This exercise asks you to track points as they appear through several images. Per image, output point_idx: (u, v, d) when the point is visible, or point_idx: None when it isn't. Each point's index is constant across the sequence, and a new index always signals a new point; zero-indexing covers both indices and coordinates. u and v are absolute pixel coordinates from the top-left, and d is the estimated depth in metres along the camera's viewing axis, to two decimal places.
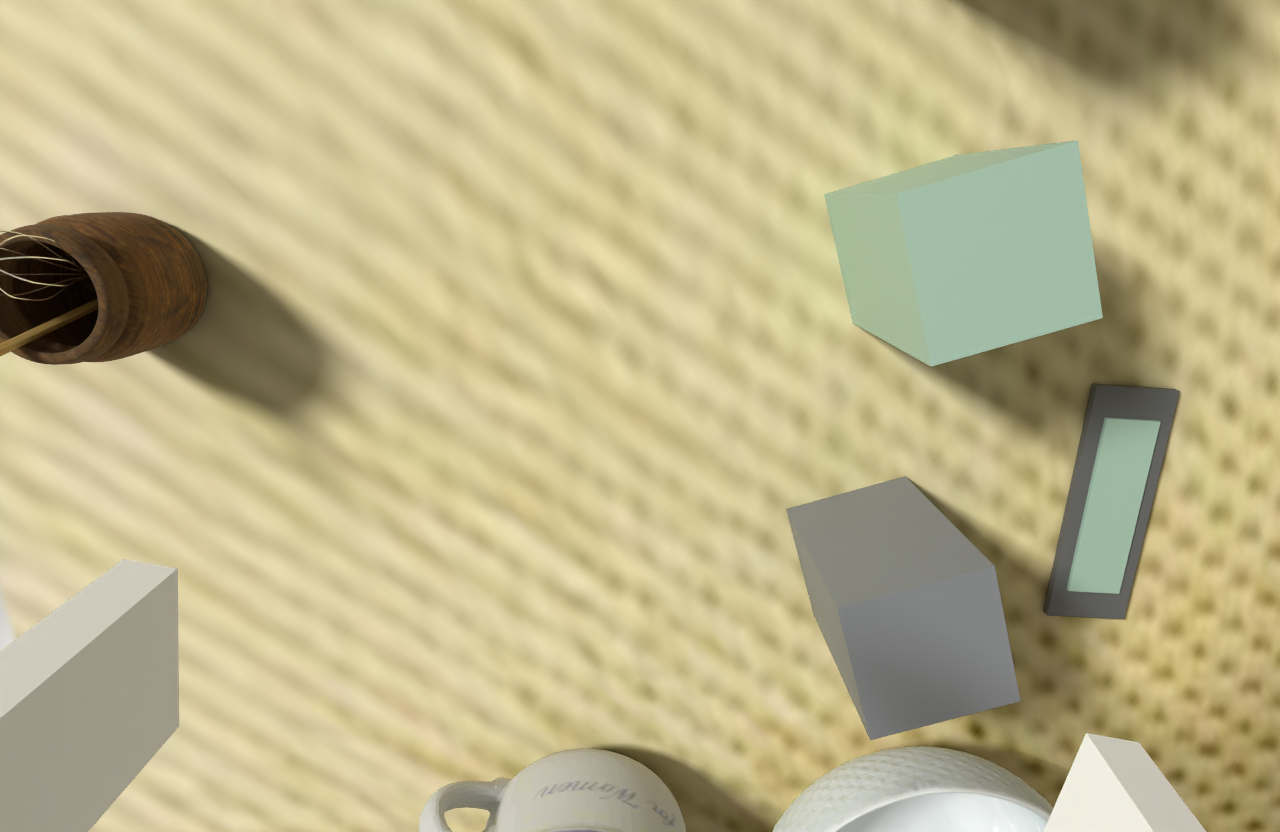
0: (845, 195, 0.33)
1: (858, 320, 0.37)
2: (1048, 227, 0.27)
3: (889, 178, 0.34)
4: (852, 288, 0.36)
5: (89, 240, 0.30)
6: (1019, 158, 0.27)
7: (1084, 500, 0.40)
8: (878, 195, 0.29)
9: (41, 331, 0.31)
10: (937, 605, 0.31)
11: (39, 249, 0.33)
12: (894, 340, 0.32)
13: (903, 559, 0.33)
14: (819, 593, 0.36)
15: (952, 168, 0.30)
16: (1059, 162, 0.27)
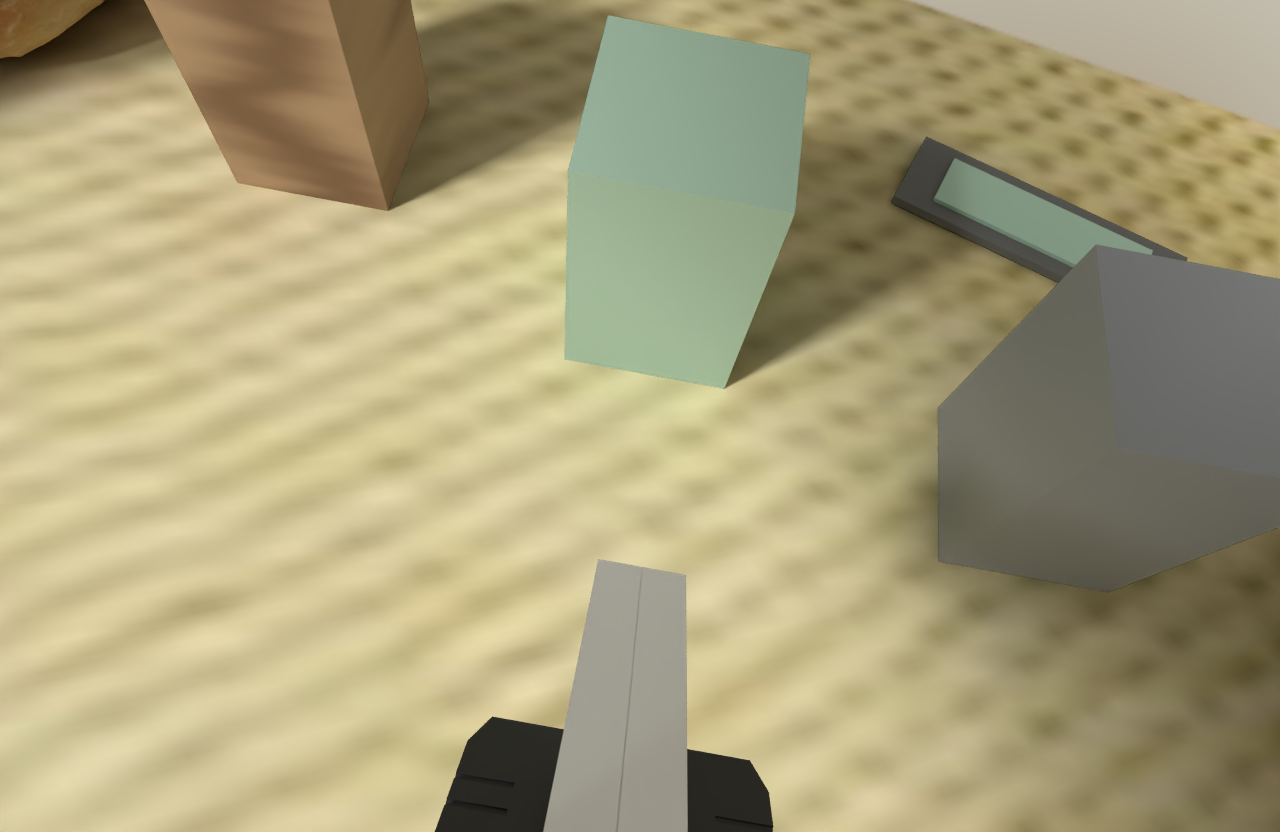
0: (566, 306, 0.27)
1: (721, 372, 0.29)
2: (686, 63, 0.23)
3: None
4: (680, 361, 0.29)
5: None
6: (597, 61, 0.23)
7: (1025, 246, 0.34)
8: (568, 220, 0.23)
9: None
10: (1140, 325, 0.21)
11: None
12: (752, 293, 0.25)
13: (1056, 371, 0.23)
14: (1081, 524, 0.23)
15: None
16: (621, 34, 0.24)
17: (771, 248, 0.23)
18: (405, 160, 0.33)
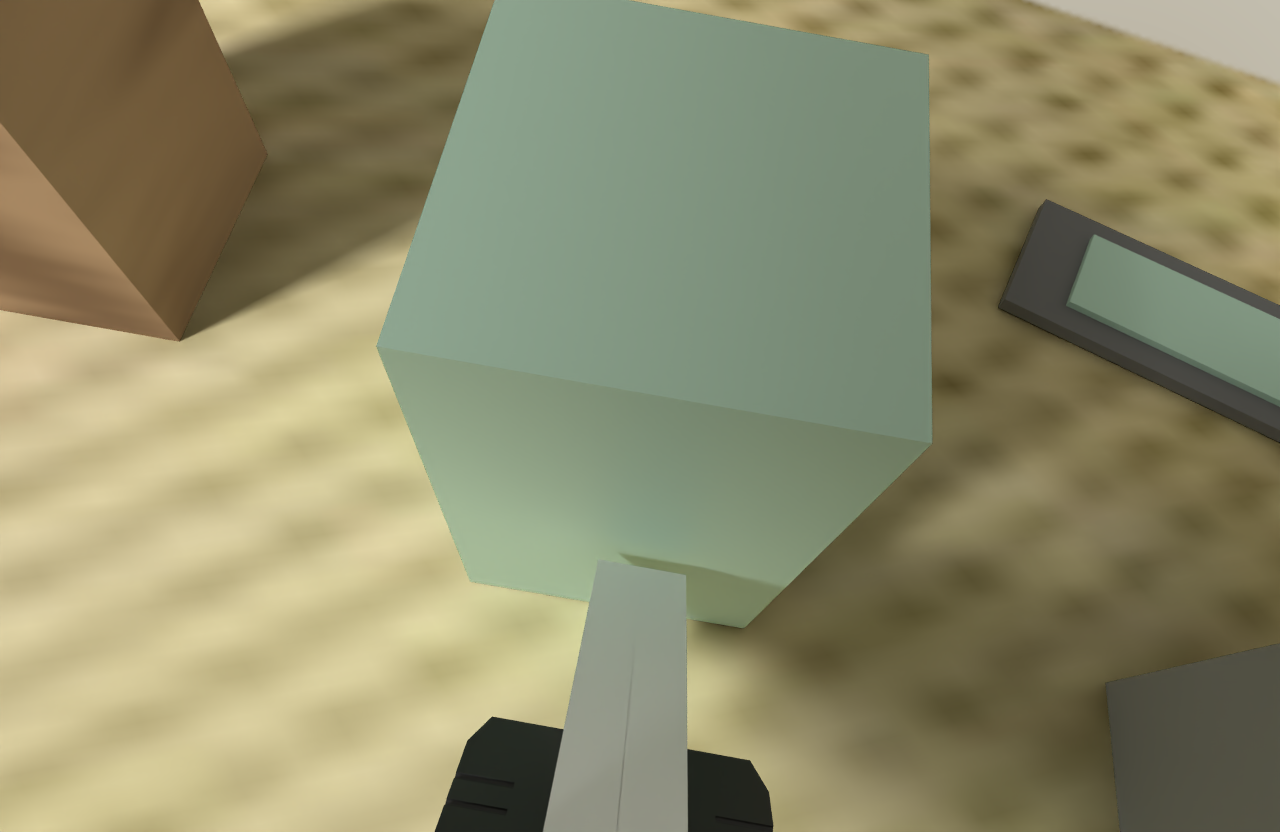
0: (452, 531, 0.14)
1: (740, 614, 0.17)
2: (667, 76, 0.11)
3: None
4: None
5: None
6: (470, 75, 0.10)
7: (1219, 381, 0.21)
8: (411, 425, 0.10)
9: None
10: None
11: None
12: (809, 543, 0.12)
13: None
14: None
15: None
16: (528, 17, 0.11)
17: (861, 490, 0.10)
18: (217, 253, 0.21)
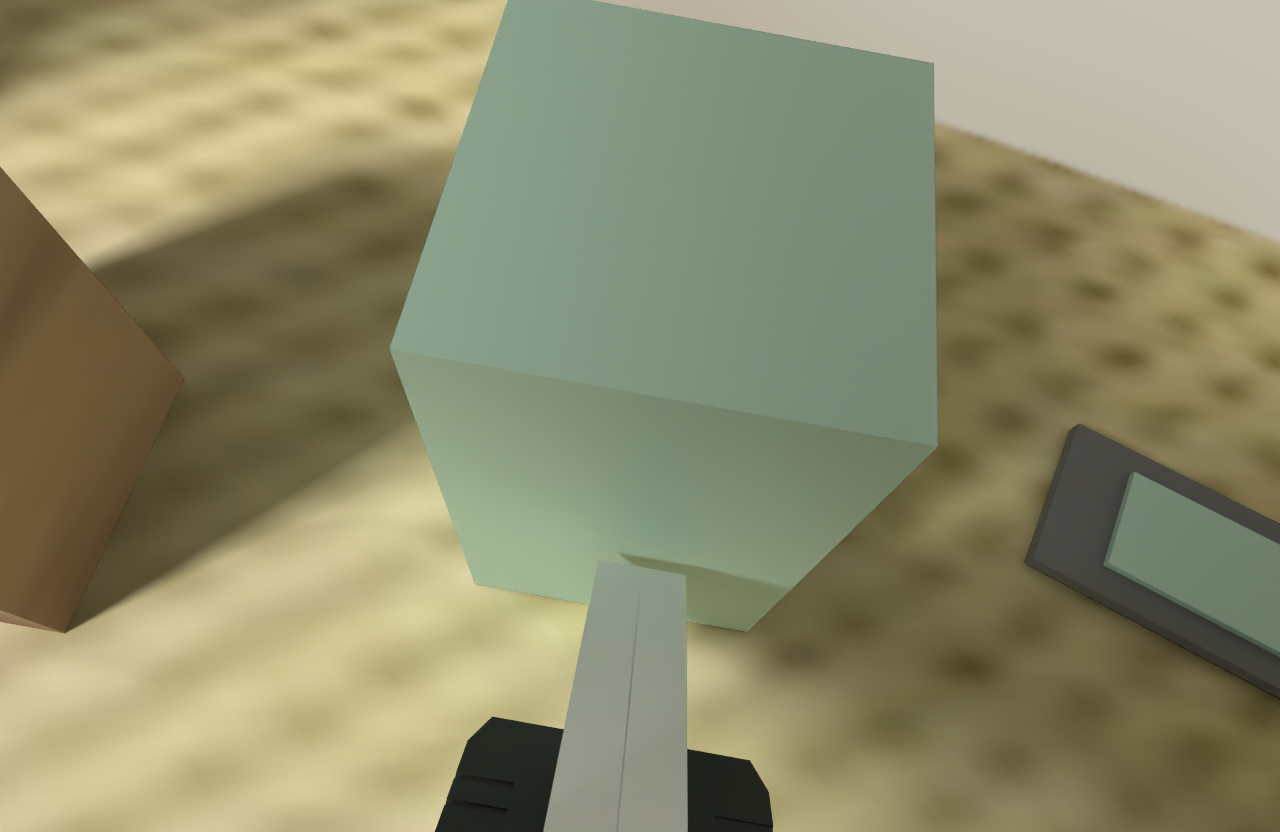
0: (458, 533, 0.14)
1: (744, 617, 0.17)
2: (675, 85, 0.11)
3: None
4: None
5: None
6: (482, 82, 0.11)
7: None
8: (421, 427, 0.11)
9: None
10: None
11: None
12: (814, 546, 0.12)
13: None
14: None
15: None
16: (539, 25, 0.11)
17: (866, 493, 0.10)
18: (116, 514, 0.18)
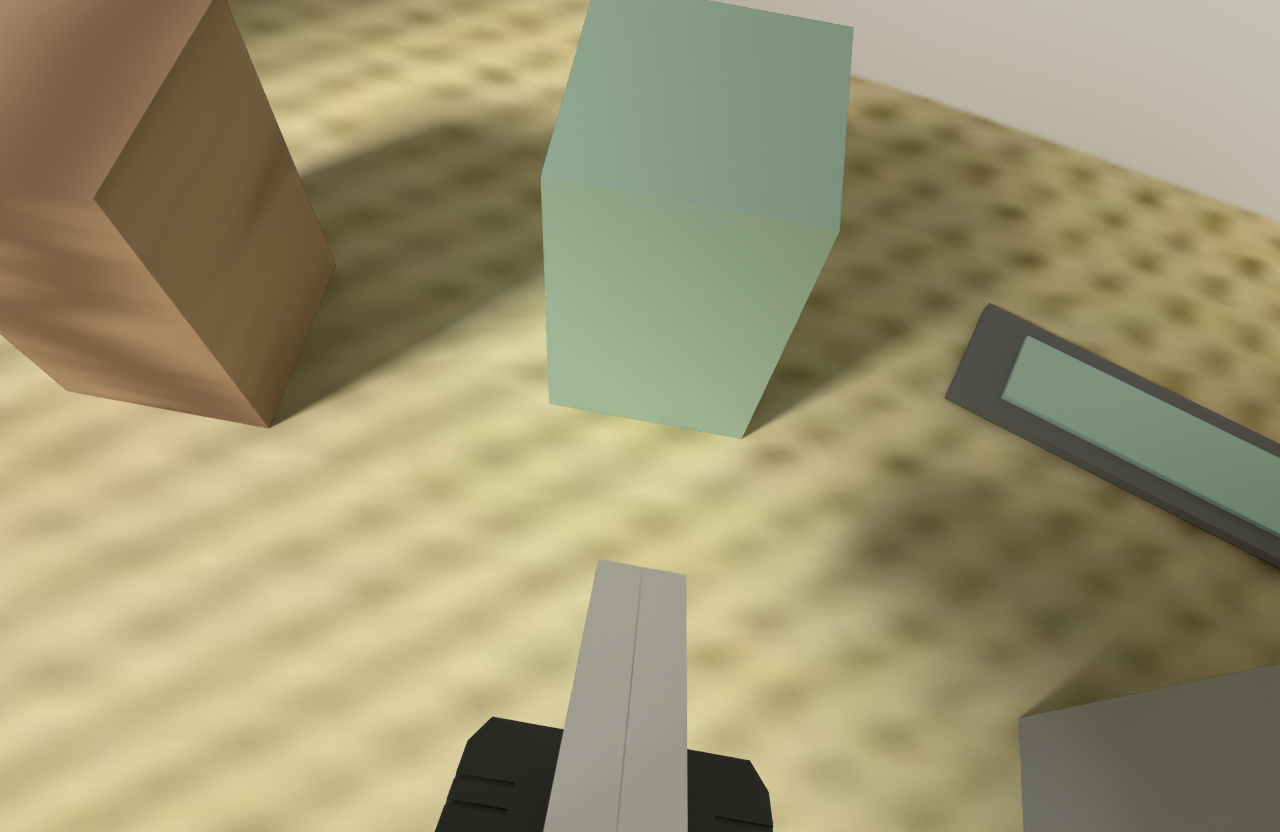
0: (548, 343, 0.22)
1: (738, 420, 0.24)
2: (695, 38, 0.18)
3: None
4: (689, 408, 0.24)
5: None
6: (581, 36, 0.18)
7: (1127, 464, 0.25)
8: (545, 239, 0.18)
9: None
10: None
11: None
12: (780, 331, 0.20)
13: None
14: None
15: None
16: (613, 3, 0.18)
17: (806, 275, 0.18)
18: (297, 353, 0.25)
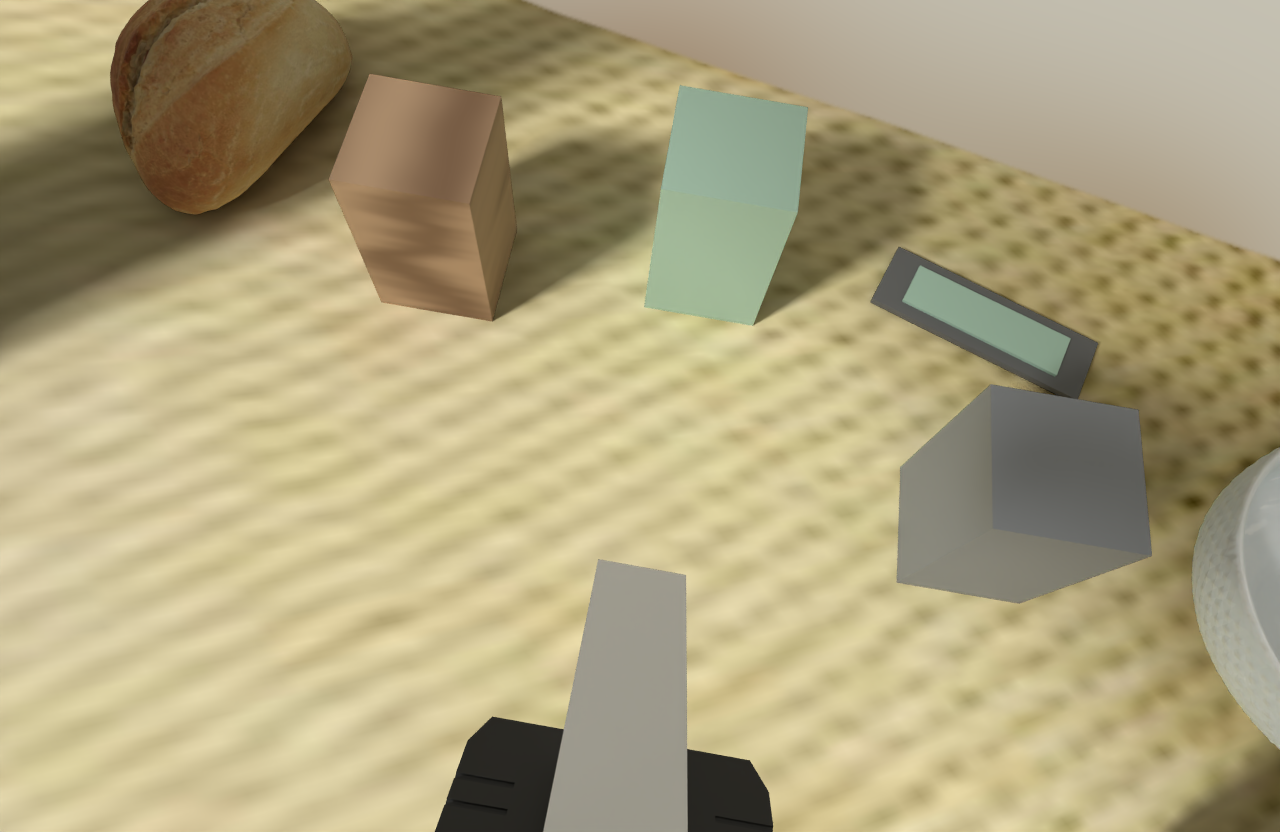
0: (650, 270, 0.41)
1: (751, 313, 0.43)
2: (729, 116, 0.37)
3: None
4: (723, 306, 0.43)
5: None
6: (674, 117, 0.37)
7: (972, 337, 0.45)
8: (657, 217, 0.37)
9: None
10: (1016, 442, 0.32)
11: None
12: (772, 261, 0.39)
13: (966, 465, 0.34)
14: (985, 565, 0.35)
15: None
16: (688, 98, 0.37)
17: (783, 233, 0.37)
18: (502, 280, 0.44)
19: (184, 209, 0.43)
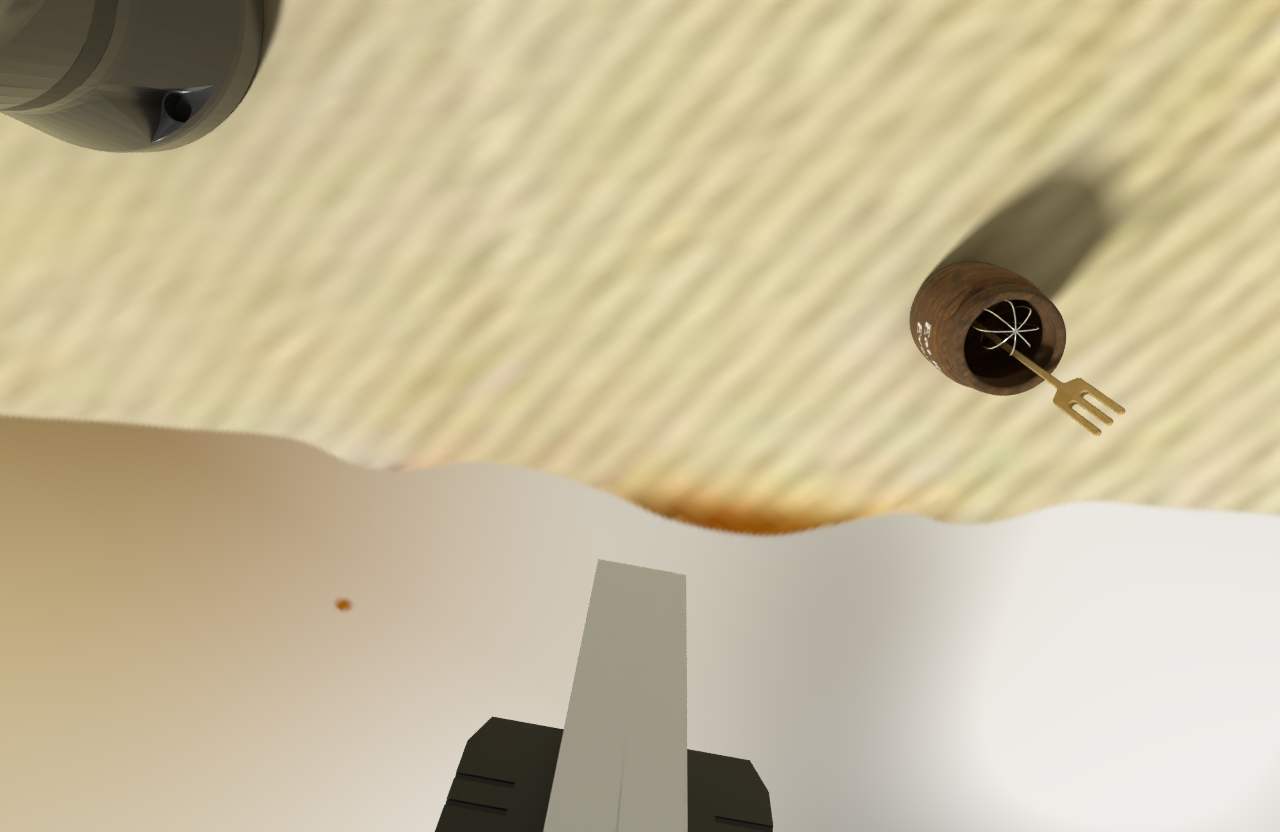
0: None
1: None
2: None
3: None
4: None
5: (968, 300, 0.38)
6: None
7: None
8: None
9: (1029, 359, 0.39)
10: None
11: None
12: None
13: None
14: None
15: None
16: None
17: None
18: None
19: None
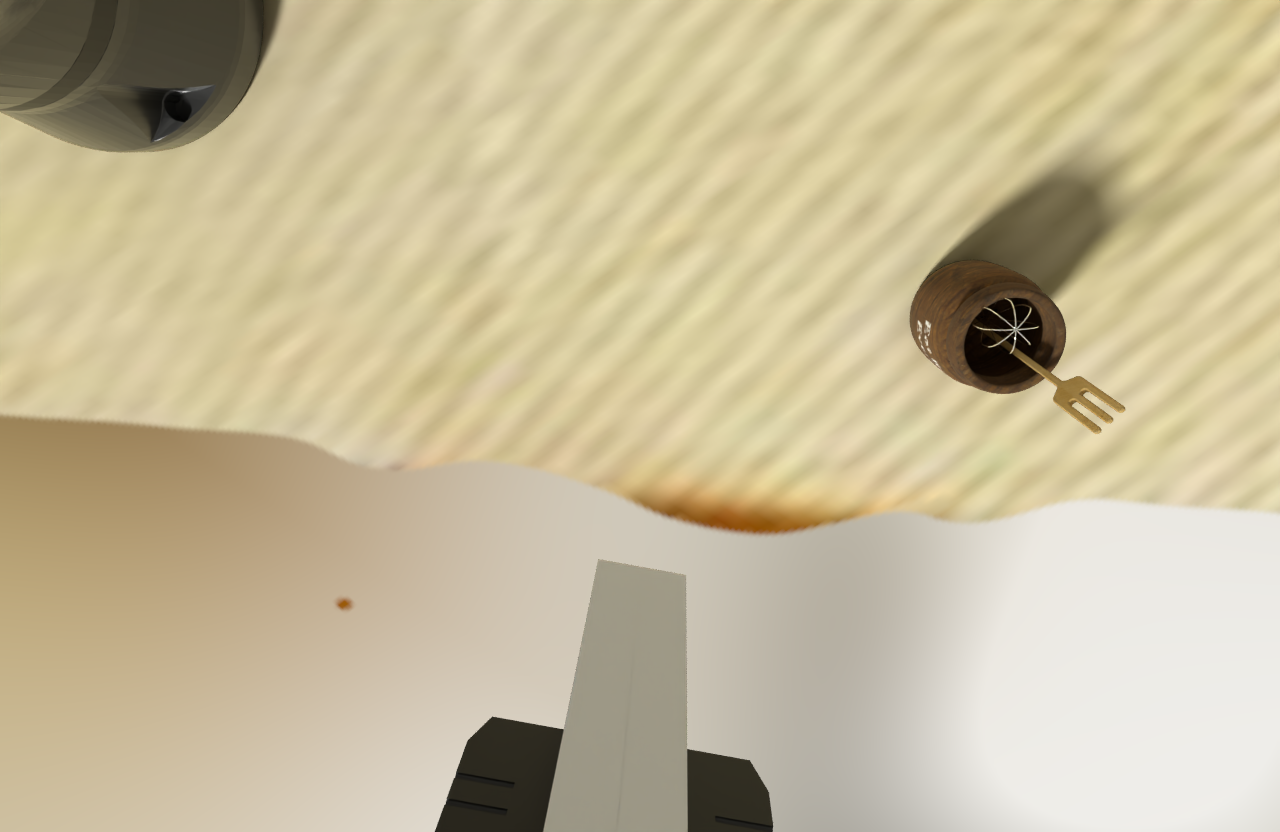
0: None
1: None
2: None
3: None
4: None
5: (969, 298, 0.38)
6: None
7: None
8: None
9: (1029, 357, 0.39)
10: None
11: None
12: None
13: None
14: None
15: None
16: None
17: None
18: None
19: None
